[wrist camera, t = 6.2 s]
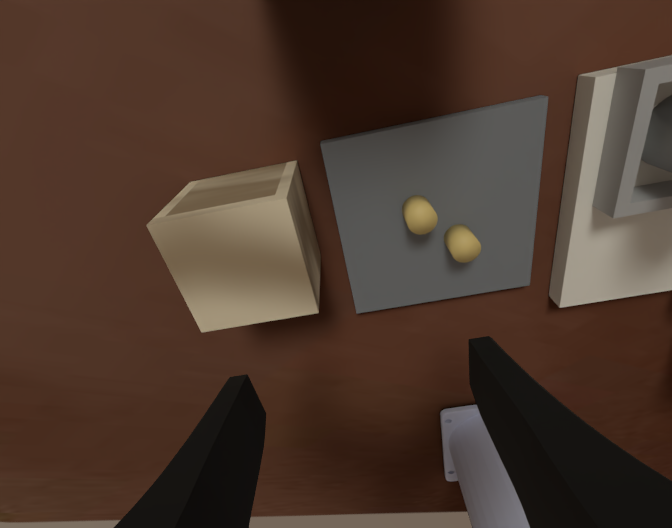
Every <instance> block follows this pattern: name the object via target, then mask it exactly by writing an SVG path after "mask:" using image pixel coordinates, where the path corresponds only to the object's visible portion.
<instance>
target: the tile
mask: <svg viewBox="0 0 672 528" xmlns="http://www.w3.org/2000/svg"><path fill="white" fill-rule="evenodd" d="M547 105H548V97H547V96H543V95H539V96H535V97H530V98H525V99H520V100H515V101H511V102H506V103H501V104H496V105H491V106H487V107H482V108H477V109H472V110H467V111H463V112H458V113H453V114H448V115H444V116H439V117H434V118H429V119H424V120H420V121H415V122H410V123H405V124H400V125H396V126H391V127H386V128H381V129H376V130H372V131H367V132H362V133H357V134H352V135H348V136H343V137H338V138H333V139H328V140H324V141H321V142H320V145H321V150H322V155H323V159H324V164H325V169H326V173H327V178H328V182H329V187H330V192H331V196H332V201H333V206H334V210H335V215H336V220H337V224H338V229H339V234H340V238H341V243H342V248H343V252H344V257H345V262H346V266H347V271H348V276H349V280H350V285H351V289H352V294H353V299H354V303H355V308H356V313H357V314H358V313H364V312H370V311H376V310H382V309H388V308H394V307H400V306H406V305H413V304H419V303H425V302H431V301H437V300H443V299H449V298H455V297H461V296H467V295H473V294H479V293H485V292H492V291H498V290H504V289H510V288H516V287H522V286H528V285H530V277H531V267H532V257H533V247H534V237H535V226H536V216H537V206H538V196H539V186H540V176H541V166H542V156H543V146H544V135H545V125H546V115H547Z"/></svg>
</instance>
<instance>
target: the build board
mask: <svg viewBox="0 0 672 528" xmlns="http://www.w3.org/2000/svg"><path fill="white" fill-rule="evenodd" d="M669 290H672V55H671V56H666V57H662V58H657V59H652V60H648V61H643V62H638V63H633V64H629V65H624V66H619V67H614V68H610V69H605V70H600V71H596V72H591V73H586V74H581V75H578V80H577V88H576V95H575V103H574V110H573V117H572V125H571V132H570V140H569V147H568V155H567V162H566V170H565V177H564V184H563V192H562V199H561V207H560V214H559V222H558V229H557V237H556V244H555V251H554V259H553V266H552V274H551V281H550V289H549V297H550V298H551V299H552V300H553V301H554V302H555V303H556V305H557V306H558V307H559V308H562V307H568V306H575V305H581V304H587V303H594V302H600V301H606V300H613V299H619V298H625V297H631V296H638V295H644V294H650V293H657V292H663V291H669Z"/></svg>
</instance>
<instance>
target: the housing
mask: <svg viewBox="0 0 672 528" xmlns="http://www.w3.org/2000/svg"><path fill="white" fill-rule="evenodd" d="M146 226H147V228H148V230H149V232H150V233H151V235H152V237H153V239H154V241H155V243H156V245H157V247H158V249H159V251H160V253H161V255H162V257H163V259H164V261H165V263H166V264H167V266H168V268H169V270H170V272H171V274H172V276H173V278H174V280H175V282H176V284H177V286H178V288H179V290H180V292H181V294H182V295H183V297H184V299H185V301H186V303H187V305H188V307H189V309H190V311H191V313H192V315H193V317H194V319H195V321H196V323H197V325H198V326H199V328H200V330H201V332H207V331H213V330H219V329H225V328H231V327H237V326H243V325H250V324H256V323H262V322H268V321H274V320H280V319H286V318H292V317H298V316H304V315H310V314H316V313H319V294H320V269H321V254H320V250H319V246H318V242H317V238H316V234H315V230H314V226H313V222H312V218H311V214H310V210H309V206H308V202H307V198H306V194H305V190H304V186H303V182H302V178H301V174H300V170H299V166H298V162H297V160H296V161H291V162H287V163H282V164H277V165H272V166H267V167H262V168H257V169H252V170H247V171H242V172H237V173H232V174H227V175H222V176H218V177H213V178H208V179H203V180H198V181H193V182H190V183H189V184H188V185H187V186H186V187H185V188H184V189H183V190H182V191H181V192H180V193H179V194H178V195H177V196H176V197H175V198H174V199H173V200H172V201H171V202H169V203H168V204H167V205H166V206H165V207H164V208H163V209H162V210H161V211H160V212H159V213H158V214H157V215H156V216H155V217H154V218H153V219H152V220H151V221H150V222H149V223H148V224H147V225H146Z"/></svg>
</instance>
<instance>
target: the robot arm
mask: <svg viewBox="0 0 672 528" xmlns="http://www.w3.org/2000/svg"><path fill="white" fill-rule="evenodd" d="M469 376H470V386H471V389H472V392H473V395H474V398H475V401H476V405H469V406H462V407H454V408H447V409H444V410H442V411H441V412H440V420H441V433H442V446H443V460H444V473H445V478H446V480H447V481H459V484H460V488H461V491H462V495H463V498H464V501H465V505H466V508H467V511H468V515H469V518H470V521H471V525H472V528H672V481H671V480H669V479H667V478H666V477H664V476H663V475H661V474H659V473H658V472H656V471H655V470H653V469H651V468H650V467H648V466H647V465H645V464H644V463H642V462H640V461H639V460H638V459H636V458H635V457H633V456H632V455H630V454H629V453H627V452H626V451H624V450H623V449H621V448H620V447H618V446H617V445H616V444H614V443H613V442H611V441H610V440H609V439H607V438H606V437H604V436H603V435H602V434H600V433H599V432H598V431H596V430H595V429H594V428H592V427H591V426H590V425H588V424H587V423H586V422H584V421H583V420H582V419H580V418H579V417H578V416H577V415H575V414H574V413H573V412H572V411H570V410H569V409H568V408H567V407H566V406H564V405H563V404H562V403H561V402H559V401H558V400H557V399H556V398H555V397H553V396H552V395H551V394H550V393H549V392H548V391H547V390H545V389H544V388H543V387H542V386H541V385H540V384H539V383H538V382H536V381H535V380H534V379H533V378H532V377H531V376H530V375H529V374H528V373H526V372H525V371H524V370H523V369H522V368H521V367H520V366H519V365H518V364H517V363H516V362H515V361H514V360H513V359H512V358H511V357H510V356H509V355H508V354H507V353H506V352H505V351H504V350H503V349H502V348H501V347H500V346H499V345H498V344H497V343H496V342H495V341H494V340H493V339H492V338H491V337H489V336H487V337H480V338H474V339H469ZM265 425H266V412H265V410H264V408H263V406H262V404H261V402H260V400H259V398H258V396H257V394H256V391H255V389H254V387H253V385H252V383H251V381H250V379H249V377H248V375H241V376H234V377H230V378H229V379H228V381H227V382H226V384H225V385H224V386H223V388H222V389H221V391H220V392H219V394H218V395H217V397H216V398H215V400H214V401H213V403H212V404H211V406H210V407H209V409H208V410H207V412H206V413H205V415H204V416H203V418H202V419H201V421H200V422H199V423H198V425H197V426H196V428H195V429H194V431H193V432H192V434H191V435H190V436H189V438H188V439H187V441H186V442H185V443H184V445H183V446H182V447H181V449H180V450H179V451H178V453H177V454H176V455H175V457H174V458H173V459H172V461H171V462H170V463H169V465H168V466H167V467H166V469H165V470H164V471H163V472H162V474H161V475H160V476H159V477H158V479H157V480H156V481H155V482H154V484H153V485H152V486H151V487H150V488H149V489H148V491H147V492H146V493H145V494H144V495H143V496H142V498H141V499H140V500H139V501H138V502H137V503H136V504H135V506H134V507H133V508H132V509H131V510H130V511H129V512H128V513H127V514H126V515H125V516H124V517H123V518H122V520H121V521H120V522H119V523H118V524H117V525H116V526H115V527H114V528H249V522H250V516H251V511H252V506H253V501H254V496H255V491H256V485H257V480H258V475H259V470H260V464H261V459H262V454H263V448H264V439H265Z"/></svg>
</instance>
